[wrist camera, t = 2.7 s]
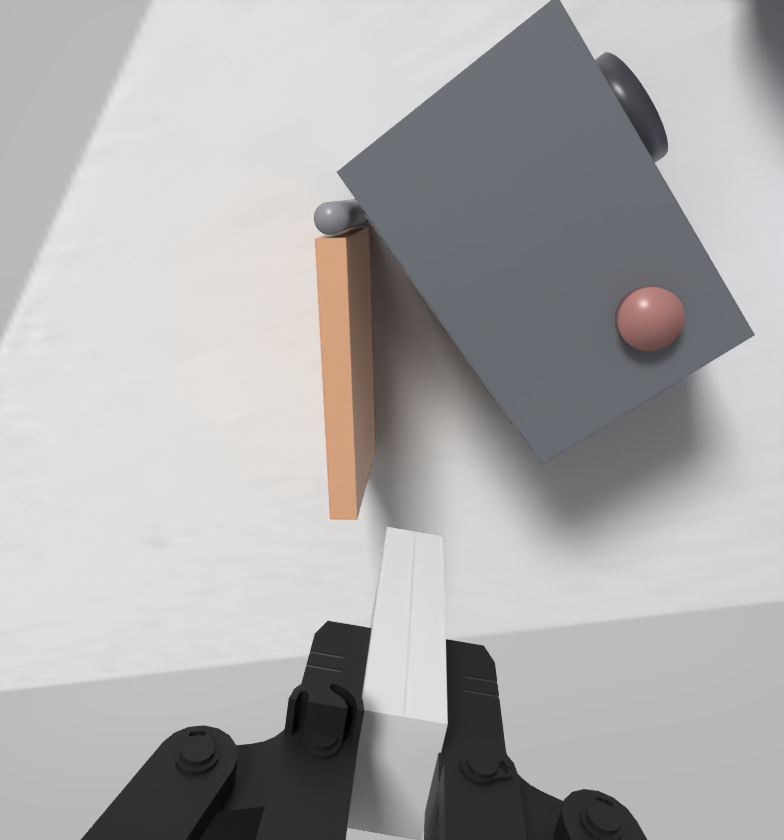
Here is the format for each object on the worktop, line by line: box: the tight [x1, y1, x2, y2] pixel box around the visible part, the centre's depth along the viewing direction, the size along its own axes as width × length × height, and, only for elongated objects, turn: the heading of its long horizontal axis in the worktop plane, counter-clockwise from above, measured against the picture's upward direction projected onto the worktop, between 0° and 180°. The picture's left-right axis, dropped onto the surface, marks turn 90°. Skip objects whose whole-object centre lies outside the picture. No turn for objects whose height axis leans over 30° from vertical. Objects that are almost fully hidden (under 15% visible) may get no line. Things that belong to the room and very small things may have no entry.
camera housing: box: [337, 0, 754, 464], centre depth 24 cm, size 12×9×8 cm
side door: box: [314, 199, 375, 520], centre depth 26 cm, size 11×1×7 cm, turn 1°
